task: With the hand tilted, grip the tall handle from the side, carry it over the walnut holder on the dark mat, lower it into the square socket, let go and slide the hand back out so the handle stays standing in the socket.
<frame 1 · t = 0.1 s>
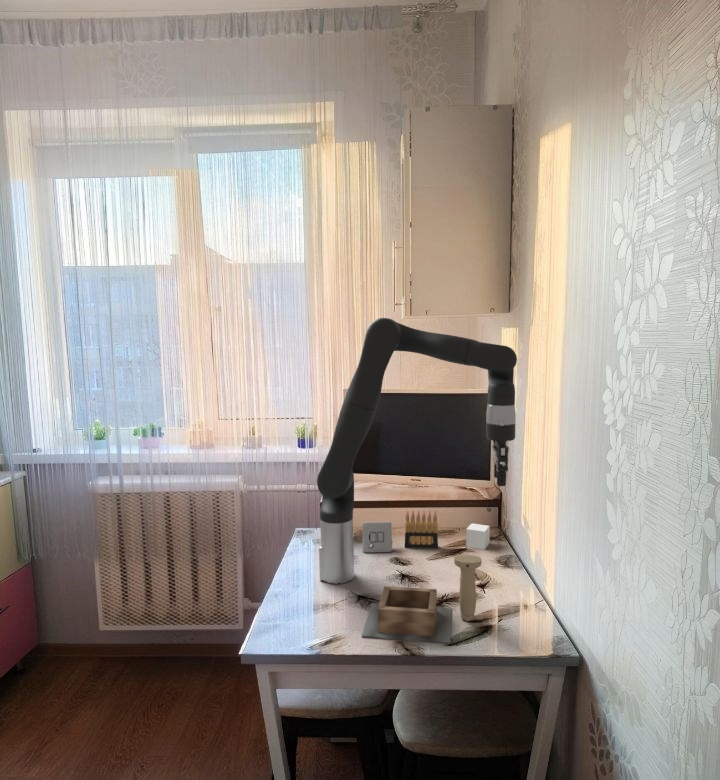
hand: (499, 481, 155), 29 cm above the table, tool pointing down, fingers open, 8 cm apart
handle: (467, 619, 141), on the table
french press: (339, 537, 198), on the table
socket holder: (408, 622, 139), on the table
ammunition clip: (421, 547, 187), on the table
electrical switch: (376, 550, 186), on the table
white cube: (477, 545, 188), on the table
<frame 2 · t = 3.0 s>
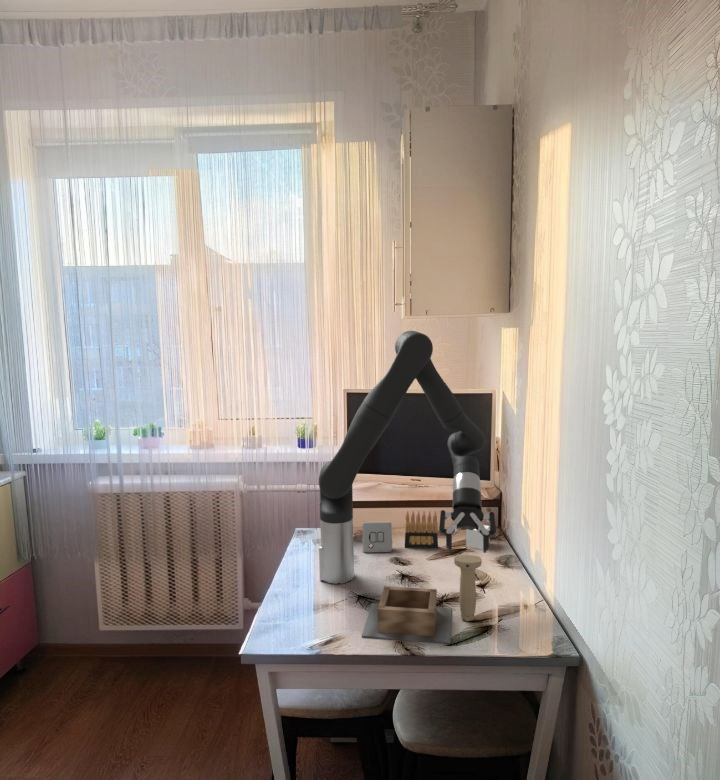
hand: (467, 550, 146), 14 cm above the table, tool tilted 45°, fingers open, 8 cm apart
nothing on the table moved.
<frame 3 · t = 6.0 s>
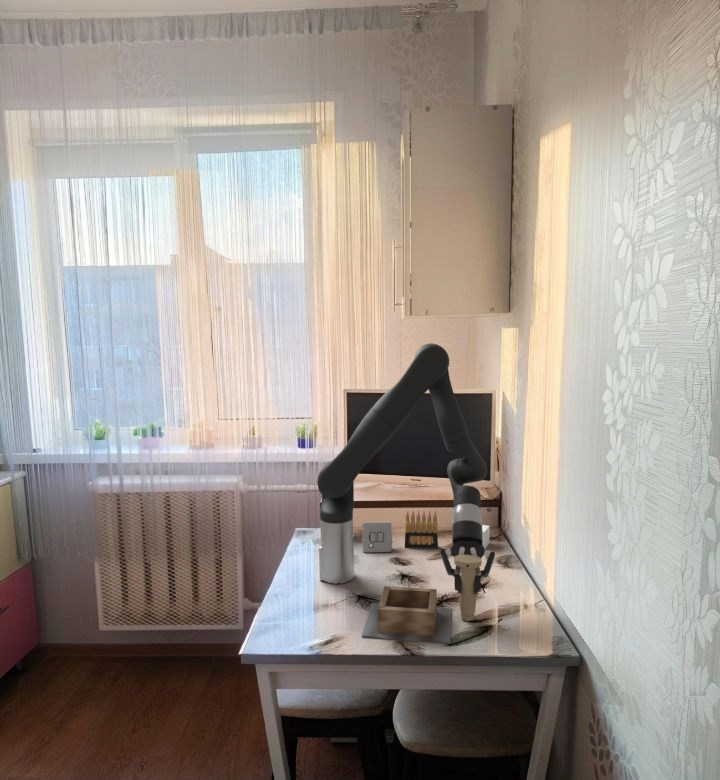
hand: (467, 592, 138), 8 cm above the table, tool tilted 45°, fingers closed on handle, 3 cm apart
handle: (467, 619, 141), on the table, touching gripper
everything else where it was.
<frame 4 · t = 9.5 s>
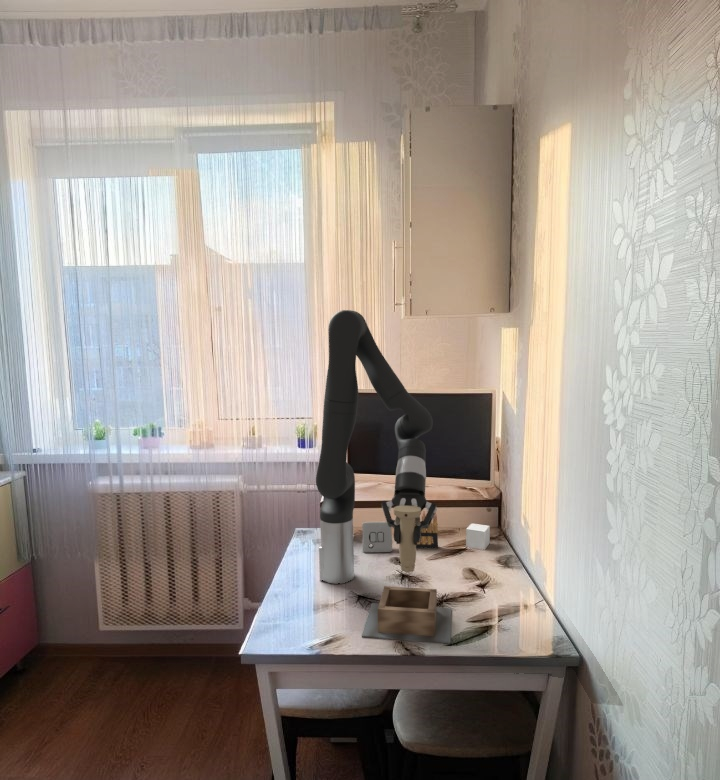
hand: (406, 542, 135), 20 cm above the table, tool tilted 45°, fingers closed on handle, 3 cm apart
handle: (407, 571, 138), point 13 cm above the table, touching gripper
everything else where it was.
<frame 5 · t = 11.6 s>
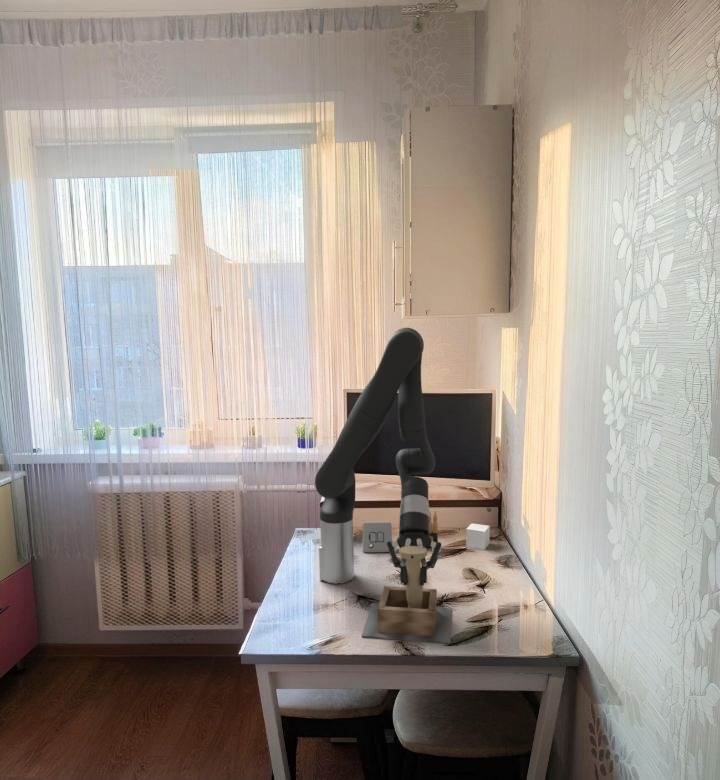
hand: (413, 583, 137), 10 cm above the table, tool tilted 45°, fingers closed on handle, 3 cm apart
handle: (414, 611, 140), point 3 cm above the table, touching gripper
everything else where it was.
when the fingers open (9 cm above the table, at t = 13.1 s): handle stays where it is, resting on socket holder.
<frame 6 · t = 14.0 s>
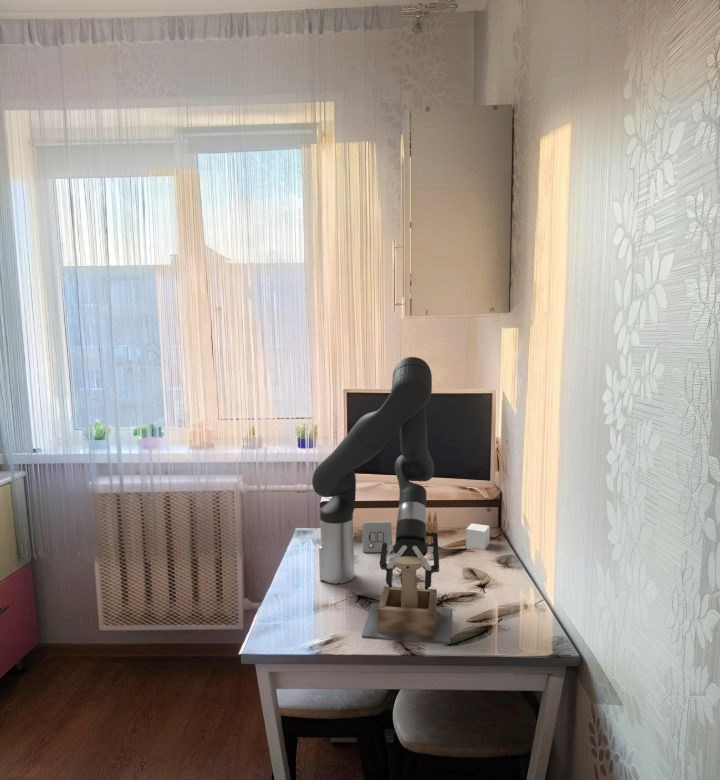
hand: (408, 587, 137), 9 cm above the table, tool tilted 45°, fingers open, 8 cm apart
handle: (409, 621, 139), resting on socket holder
everything else where it was.
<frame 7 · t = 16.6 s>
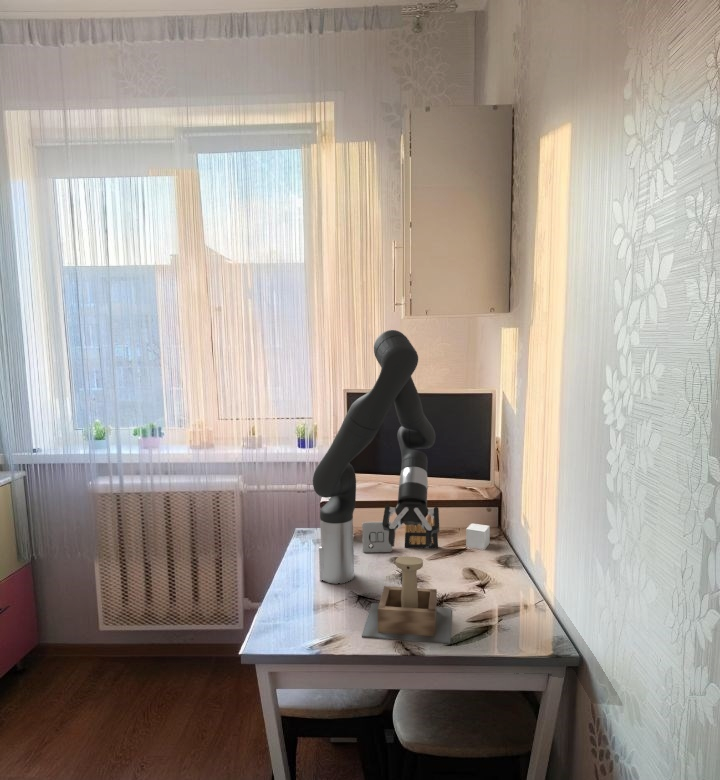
hand: (409, 546, 144), 17 cm above the table, tool tilted 45°, fingers open, 8 cm apart
nothing on the table moved.
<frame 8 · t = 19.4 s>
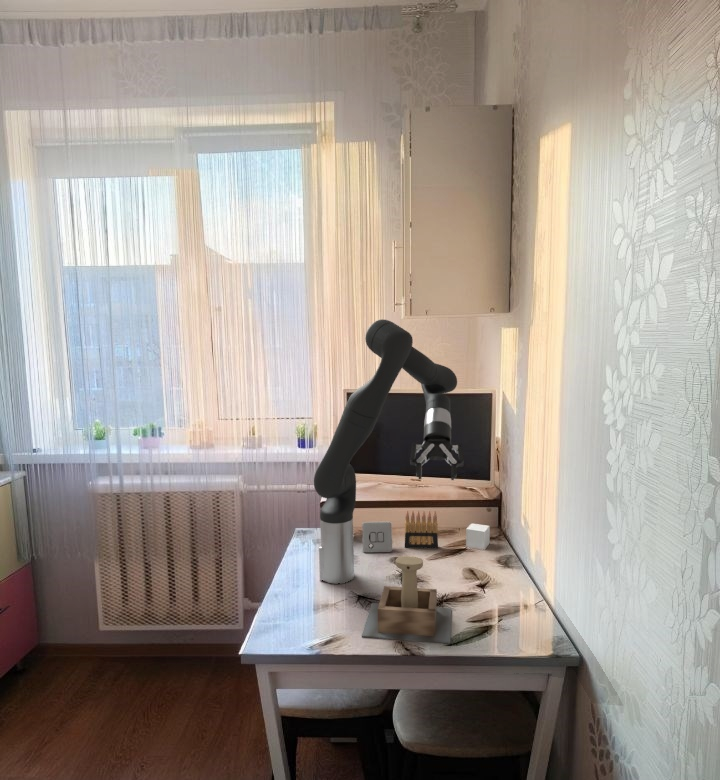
hand: (436, 478, 153), 31 cm above the table, tool tilted 45°, fingers open, 8 cm apart
nothing on the table moved.
at the end: handle 0.4 cm off-centre on the socket holder, point 0.2 cm above the socket holder's base; handle tilted 0°; the gripper is holding nothing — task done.
